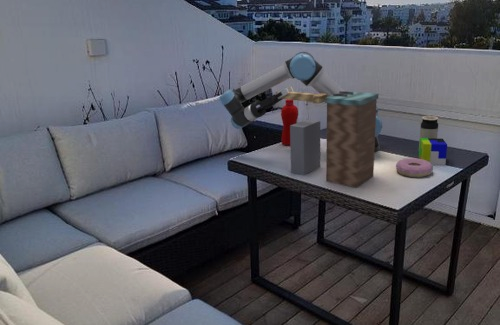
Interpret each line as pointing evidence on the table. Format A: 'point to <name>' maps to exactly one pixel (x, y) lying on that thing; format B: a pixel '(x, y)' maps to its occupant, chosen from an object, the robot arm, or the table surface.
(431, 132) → the travel mug
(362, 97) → the laundry hamper
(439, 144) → the puzzle toy
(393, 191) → the table surface
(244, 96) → the robot arm
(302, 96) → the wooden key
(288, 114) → the water bottle
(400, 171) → the donut
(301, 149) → the plinth
